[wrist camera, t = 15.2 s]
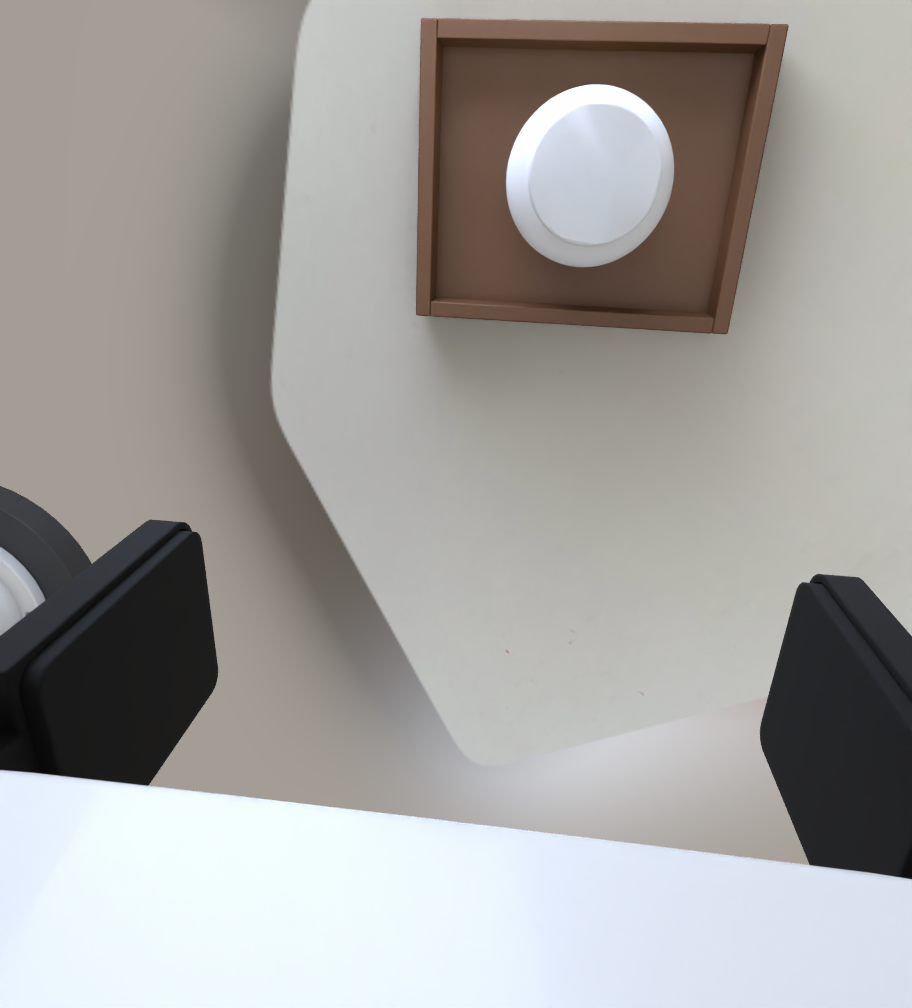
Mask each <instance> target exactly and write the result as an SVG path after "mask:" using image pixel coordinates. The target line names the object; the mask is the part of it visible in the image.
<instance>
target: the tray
mask: <svg viewBox="0 0 912 1008" xmlns="http://www.w3.org/2000/svg"><path fill="white" fill-rule="evenodd" d="M787 31H788V25H787V24H771V25H770V24H747V23H690V22H633V21H576V20H519V19H462V18H438V19H437V18H421V45H420V105H419V165H418V225H417V285H416V315H419V316H430V315H431V316H435V317H452V318H468V319H484V320H500V321H517V322H533V323H549V324H566V325H582V326H598V327H614V328H631V329H647V330H663V331H680V332H696V333H713V334H727V333H728V329H729V324H730V319H731V314H732V309H733V304H734V299H735V294H736V289H737V283H738V278H739V273H740V268H741V263H742V258H743V253H744V248H745V243H746V238H747V233H748V228H749V223H750V218H751V213H752V208H753V203H754V198H755V193H756V188H757V183H758V178H759V173H760V167H761V162H762V157H763V152H764V147H765V142H766V137H767V132H768V127H769V122H770V117H771V112H772V107H773V102H774V97H775V92H776V87H777V82H778V77H779V72H780V67H781V62H782V56H783V51H784V46H785V41H786V36H787ZM585 85H610V86H614V87H618V88H621V89H624V90H626V91H628V92H630V93H632V94H634V95H636V96H637V97H639V98H640V99H641V100H643V101H644V102H645V103H647V104H648V105H649V106H650V107H651V108H652V110H653V111H654V112H655V113H656V114H657V116H658V117H659V118H660V120H661V121H662V123H663V125H664V127H665V129H666V131H667V134H668V136H669V139H670V142H671V146H672V151H673V157H674V180H673V186H672V191H671V195H670V199H669V202H668V204H667V207H666V209H665V211H664V213H663V215H662V217H661V219H660V221H659V222H658V224H657V226H656V227H655V228H654V230H653V231H652V232H651V233H650V235H649V236H648V237H647V238H646V239H645V240H644V241H643V242H642V243H641V244H640V245H639V246H638V247H637V248H635V249H634V250H633V251H631V252H630V253H628V254H627V255H625V256H623V257H621V258H619V259H617V260H615V261H613V262H611V263H607V264H604V265H600V266H594V267H573V266H567V265H563V264H560V263H557V262H555V261H552V260H550V259H548V258H547V257H545V256H543V255H542V254H540V253H539V252H537V251H536V250H535V249H534V248H532V247H531V246H530V245H529V243H528V242H527V241H526V240H525V239H524V238H523V236H522V235H521V233H520V232H519V230H518V228H517V226H516V225H515V223H514V220H513V218H512V215H511V212H510V209H509V205H508V200H507V192H506V173H507V167H508V161H509V157H510V154H511V151H512V148H513V145H514V143H515V141H516V138H517V137H518V135H519V133H520V131H521V130H522V128H523V126H524V125H525V123H526V122H527V121H528V120H529V118H530V117H531V116H532V115H533V114H534V113H535V112H536V111H537V110H538V109H539V108H540V107H541V106H542V105H543V104H545V103H546V102H547V101H549V100H550V99H551V98H553V97H555V96H557V95H558V94H560V93H562V92H564V91H567V90H569V89H573V88H576V87H580V86H585Z"/></svg>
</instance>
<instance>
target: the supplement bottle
mask: <svg viewBox="0 0 912 1008" xmlns="http://www.w3.org/2000/svg"><path fill="white" fill-rule="evenodd" d="M673 180H674V157H673V151H672V146H671V142H670V139H669V136H668V134H667V131H666V129H665V127H664V125H663V123H662V121H661V120H660V118H659V117H658V116H657V114H656V113H655V112H654V111H653V110H652V108H651V107H650V106H649V105H648V104H647V103H645V102H644V101H643V100H641V99H640V98H639V97H637V96H636V95H634V94H632V93H630V92H628V91H626V90H624V89H621V88H618V87H614V86H610V85H585V86H580V87H576V88H573V89H569V90H567V91H564V92H562V93H560V94H558V95H557V96H555V97H553V98H551V99H550V100H549V101H547V102H546V103H545V104H543V105H542V106H541V107H540V108H539V109H538V110H537V111H536V112H535V113H534V114H533V115H532V116H531V117H530V118H529V120H528V121H527V122H526V123H525V125H524V126H523V128H522V130H521V131H520V133H519V135H518V137H517V138H516V141H515V143H514V145H513V148H512V151H511V154H510V157H509V161H508V167H507V173H506V192H507V200H508V205H509V209H510V212H511V215H512V218H513V220H514V223H515V225H516V226H517V228H518V230H519V232H520V233H521V235H522V236H523V238H524V239H525V240H526V241H527V242H528V243H529V245H530V246H531V247H532V248H534V249H535V250H536V251H537V252H539V253H540V254H542V255H543V256H545V257H547V258H548V259H550V260H552V261H555V262H557V263H560V264H563V265H567V266H573V267H594V266H600V265H604V264H607V263H611V262H613V261H615V260H617V259H619V258H621V257H623V256H625V255H627V254H628V253H630V252H631V251H633V250H634V249H635V248H637V247H638V246H639V245H640V244H641V243H642V242H643V241H644V240H645V239H646V238H647V237H648V236H649V235H650V233H651V232H652V231H653V230H654V228H655V227H656V226H657V224H658V222H659V221H660V219H661V217H662V215H663V213H664V211H665V209H666V207H667V204H668V202H669V199H670V195H671V191H672V186H673Z"/></svg>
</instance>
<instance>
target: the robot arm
mask: <svg viewBox="0 0 912 1008" xmlns="http://www.w3.org/2000/svg"><path fill="white" fill-rule="evenodd" d="M217 677H218V664H217V657H216V649H215V641H214V633H213V625H212V618H211V610H210V603H209V595H208V586H207V579H206V571H205V563H204V555H203V547H202V541H201V537H200V535H199V534H198V533H197V532H192V530H191V528H190V526H189V525H188V524H187V523H185V522H172V521H160V520H149V521H146V522H145V523H144V524H143V525H141V526H140V527H139V528H137V529H136V530H135V531H133V532H132V533H131V534H130V535H128V536H127V537H126V538H125V539H123V540H122V541H121V542H119V543H118V544H117V545H116V546H114V547H113V548H112V549H111V550H109V551H108V552H107V553H105V554H104V555H103V556H102V557H100V558H99V559H98V560H97V561H95V562H94V563H93V564H91V565H90V566H89V567H87V568H86V569H85V570H84V571H82V572H81V573H80V574H79V575H77V576H76V577H75V578H73V579H72V580H71V581H70V582H68V583H67V584H66V585H64V586H63V587H62V588H61V589H59V590H58V591H57V592H56V593H54V594H53V595H52V596H50V597H49V598H48V599H47V600H45V598H44V595H43V593H42V591H41V589H40V588H39V586H38V584H37V583H36V581H35V579H34V578H33V577H32V576H31V574H30V573H29V572H28V571H27V569H26V568H25V567H24V566H23V565H22V564H21V563H20V562H19V561H18V560H17V559H16V558H15V557H13V556H12V555H11V554H10V553H8V552H7V551H6V550H4V549H3V548H1V547H0V1008H912V636H911V635H910V634H909V633H908V632H907V630H906V629H905V628H904V627H903V626H902V625H901V624H900V622H899V621H898V620H897V619H896V618H895V617H894V616H893V614H892V613H891V612H890V611H889V610H888V609H887V608H886V606H885V605H884V604H883V603H882V602H881V601H880V599H879V598H878V597H877V596H876V595H875V594H874V593H873V591H872V590H871V589H870V588H869V587H868V586H867V585H866V583H865V582H864V581H863V580H862V579H860V578H859V577H847V576H834V575H822V574H817V575H815V576H813V578H812V579H811V581H810V583H804V582H803V583H801V584H800V585H799V586H798V588H797V591H796V594H795V598H794V601H793V605H792V609H791V613H790V616H789V620H788V624H787V628H786V631H785V635H784V639H783V643H782V646H781V650H780V654H779V658H778V662H777V665H776V669H775V673H774V677H773V680H772V684H771V688H770V692H769V695H768V699H767V703H766V707H765V710H764V715H763V718H762V722H761V727H760V740H761V746H762V749H763V752H764V755H765V757H766V759H767V762H768V764H769V767H770V769H771V771H772V774H773V777H774V779H775V781H776V784H777V786H778V789H779V791H780V794H781V796H782V798H783V801H784V803H785V806H786V808H787V810H788V813H789V815H790V818H791V820H792V823H793V825H794V828H795V830H796V832H797V835H798V837H799V840H800V842H801V845H802V847H803V849H804V852H805V854H806V857H807V859H808V862H809V864H810V865H804V864H796V863H787V862H780V861H772V860H763V859H756V858H748V857H740V856H732V855H724V854H716V853H708V852H700V851H692V850H683V849H675V848H668V847H659V846H651V845H644V844H634V843H627V842H619V841H611V840H603V839H594V838H586V837H578V836H569V835H561V834H553V833H545V832H536V831H528V830H520V829H511V828H503V827H494V826H486V825H478V824H470V823H462V822H454V821H444V820H437V819H429V818H419V817H412V816H403V815H394V814H386V813H378V812H369V811H360V810H351V809H342V808H335V807H326V806H318V805H309V804H300V803H292V802H282V801H275V800H266V799H258V798H250V797H242V796H233V795H225V794H215V793H207V792H198V791H189V790H180V789H171V788H162V787H154V786H148V785H149V784H150V783H151V781H152V780H153V778H154V777H155V775H156V774H157V772H158V771H159V769H160V768H161V766H162V765H163V763H164V762H165V761H166V759H167V758H168V756H169V755H170V753H171V752H172V750H173V749H174V747H175V746H176V744H177V743H178V742H179V740H180V739H181V737H182V736H183V734H184V733H185V731H186V730H187V729H188V727H189V726H190V724H191V722H192V721H193V720H194V718H195V717H196V715H197V714H198V712H199V711H200V710H201V708H202V707H203V705H204V704H205V702H206V701H207V699H208V698H209V696H210V695H211V694H212V692H213V690H214V688H215V685H216V682H217Z"/></svg>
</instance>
